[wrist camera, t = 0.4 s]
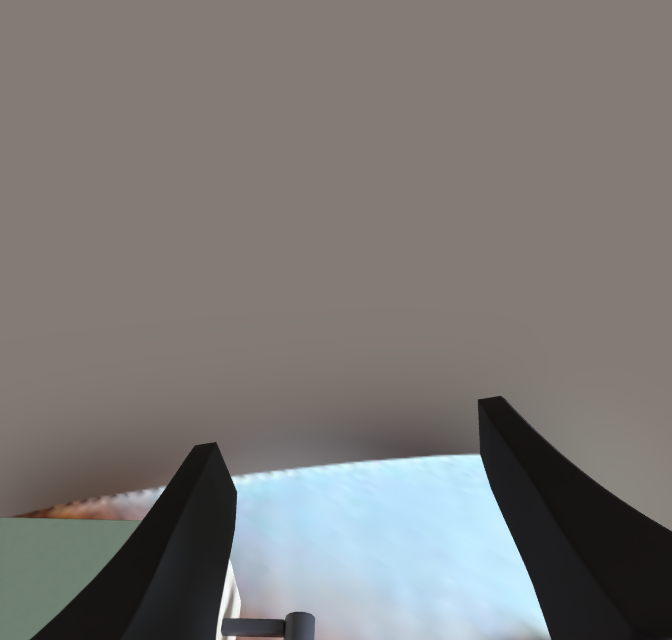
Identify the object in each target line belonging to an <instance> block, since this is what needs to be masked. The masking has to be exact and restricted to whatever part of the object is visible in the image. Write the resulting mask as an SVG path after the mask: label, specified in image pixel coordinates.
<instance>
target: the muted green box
mask: <svg viewBox="0 0 672 640" xmlns="http://www.w3.org/2000/svg"><path fill="white" fill-rule="evenodd" d="M141 522H142V521H138V520H95V519H53V518H10V517H0V640H30V639H31V638H32V637H33V636H34V635H35V634H37V633H38V632H39V631H40V630H41V629H42V628H43V627H44V626H45V625H47V624H48V623H49V622H50V621H51V620H52V619H53V618H54V617H55V616H56V615H57V614H59V613H60V612H61V611H62V610H63V609H64V608H65V607H66V606H67V605H68V604H69V603H70V602H71V601H72V600H73V599H74V598H75V597H76V596H77V595H78V594H79V593H80V592H81V591H82V590H83V589H84V588H85V587H86V586H87V585H88V584H89V583H90V582H91V581H92V580H93V579H94V578H95V577H96V575H97V574H98V573H99V572H100V571H101V570H102V569H103V568H104V567H105V565H106V564H107V563H108V562H109V561H110V560H111V559H112V558H113V557H114V555H115V554H116V553H117V552H118V551H119V549H120V548H121V547H122V546H123V545H124V543H125V542H126V541H127V540H128V538H129V537H130V536H131V535H132V533H133V532H134V531H135V529H136V528H137V527H138V525H139V524H140V523H141Z"/></svg>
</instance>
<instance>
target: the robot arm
mask: <svg viewBox="0 0 672 640" xmlns="http://www.w3.org/2000/svg"><path fill="white" fill-rule="evenodd" d="M478 413H479V436H480V455H481V458H482V461H483V464H484V468H485V471H486V474H487V477H488V480H489V484H490V487H491V490H492V492H493V494H494V497H495V499H496V501H497V503H498V506H499V508H500V510H501V513H502V515H503V517H504V519H505V522H506V524H507V526H508V528H509V530H510V533H511V535H512V537H513V539H514V542H515V544H516V546H517V548H518V551H519V553H520V555H521V557H522V560H523V562H524V564H525V566H526V569H527V571H528V574H529V576H530V579H531V581H532V584H533V586H534V589H535V592H536V595H537V598H538V601H539V604H540V607H541V610H542V613H543V616H544V619H545V622H546V625H547V628H548V631H549V634H550V637H551V640H672V531H670V530H669V529H667V528H665V527H663V526H662V525H660V524H658V523H657V522H655V521H653V520H651V519H650V518H648V517H647V516H645V515H643V514H642V513H640V512H639V511H637V510H636V509H634V508H633V507H631V506H629V505H628V504H627V503H625V502H624V501H622V500H620V499H619V498H618V497H616V496H615V495H613V494H612V493H611V492H609V491H608V490H606V489H605V488H604V487H602V486H601V485H600V484H598V483H597V482H596V481H594V480H593V479H592V478H590V477H589V476H588V475H587V474H585V473H584V472H583V471H581V470H580V469H579V468H578V467H577V466H575V465H574V464H573V463H572V462H571V461H569V460H568V459H567V458H566V457H565V456H563V455H562V454H561V453H560V452H559V451H558V450H557V449H556V448H554V447H553V446H552V445H551V444H550V443H549V442H548V441H547V440H546V439H544V438H543V437H542V436H541V435H540V434H539V433H538V432H537V431H536V430H535V429H534V428H533V427H532V426H531V425H530V424H529V423H528V422H527V421H526V420H525V419H524V418H523V417H522V416H521V415H520V414H519V413H518V412H517V411H516V410H515V409H514V408H513V407H512V406H511V405H510V404H509V403H508V402H507V400H506V399H504V398H503V397H502V396H497V397H491V398H485V399H479V400H478ZM236 504H237V491H236V488H235V486H234V483H233V481H232V479H231V476H230V474H229V471H228V469H227V467H226V465H225V462H224V460H223V457H222V455H221V453H220V450H219V448H218V445H217V443H216V442H214V443H207V444H201V445H195V446H194V448H193V449H192V451H191V452H190V453H189V455H188V456H187V457H186V459H185V461H184V462H183V463H182V465H181V466H180V468H179V469H178V471H177V472H176V474H175V475H174V477H173V478H172V480H171V481H170V483H169V484H168V486H167V487H166V488H165V490H164V491H163V493H162V494H161V495H160V497H159V498H158V500H157V501H156V503H155V504H154V505H153V507H152V508H151V510H150V511H149V512H148V514H147V515H146V516H145V518H144V519H143V520H142V522H141V523H140V524H139V525H138V527H137V528H136V529H135V531H134V532H133V533H132V535H131V536H130V537H129V538H128V540H127V541H126V542H125V543H124V545H123V546H122V547H121V548H120V549H119V551H118V552H117V553H116V554H115V555H114V557H113V558H112V559H111V560H110V561H109V562H108V563H107V564H106V565H105V567H104V568H103V569H102V570H101V571H100V572H99V573H98V574H97V575H96V577H95V578H94V579H93V580H92V581H91V582H90V583H89V584H88V585H87V586H86V587H85V588H84V589H83V590H82V591H81V592H80V593H79V594H78V595H77V596H76V597H75V598H74V599H73V600H72V601H71V602H70V603H69V604H68V605H67V606H66V607H65V608H64V609H63V610H62V611H61V612H60V613H59V614H57V615H56V616H55V617H54V618H53V619H52V620H51V621H50V622H49V623H48V624H47V625H45V626H44V627H43V628H42V629H41V630H40V631H39V632H38V633H37V634H35V635H34V636H33V637H32V638H31V639H30V640H216V634H217V625H218V618H219V612H220V606H221V601H222V595H223V590H224V585H225V580H226V574H227V569H228V564H229V558H230V553H231V548H232V542H233V536H234V531H235V520H236Z"/></svg>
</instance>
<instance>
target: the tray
mask: <svg viewBox="0 0 672 640" xmlns="http://www.w3.org/2000/svg"><path fill="white" fill-rule="evenodd" d="M240 607H241V600H240V596H239V592H238V589H237V585H236V581H235V577H234V573H233V569H232V566H231V562H230V558H229V564H228V569H227V574H226V580H225V585H224V590H223V595H222V601H221V606H220V612H219V618H218V625H217V634H216V640H236V636H242V637H284V640H314V631H315V617H314V616H313V615H312V614H309V613H306V612H293V613H289V614H288V615H287V616H286V618H285V620H283V619H241V618H239V614H240Z"/></svg>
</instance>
